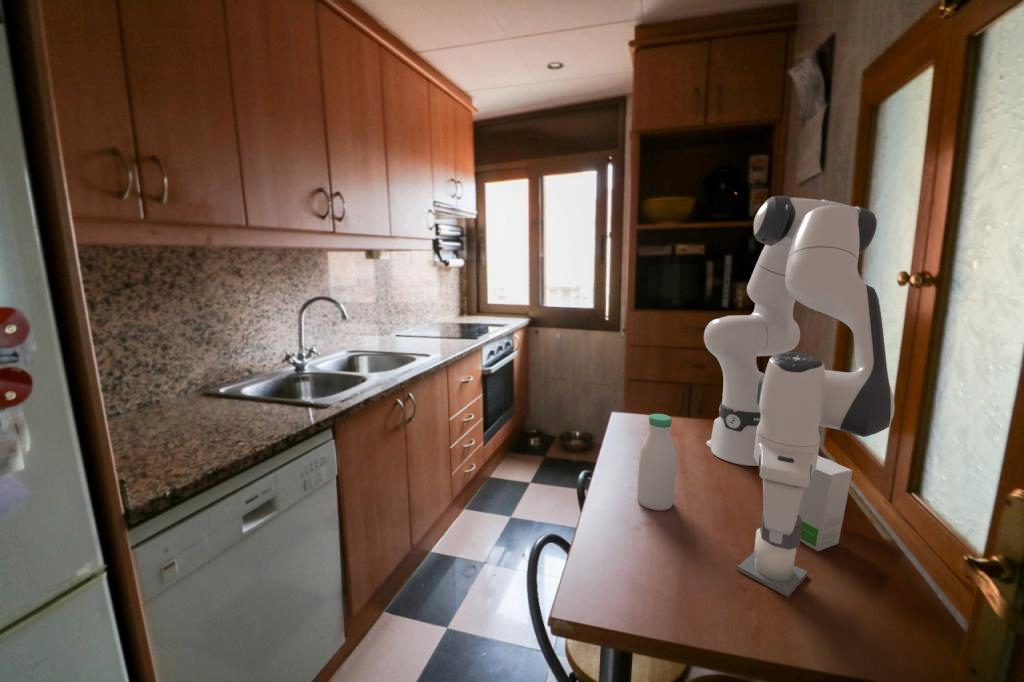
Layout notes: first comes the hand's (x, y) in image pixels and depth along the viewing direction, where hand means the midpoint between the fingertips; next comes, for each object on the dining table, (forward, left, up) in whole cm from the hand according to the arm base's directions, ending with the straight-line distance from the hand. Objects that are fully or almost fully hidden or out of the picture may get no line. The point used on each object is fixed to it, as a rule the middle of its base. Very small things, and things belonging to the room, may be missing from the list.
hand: (775, 529), depth 76 cm
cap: (0, +1, -1) cm, 2 cm away
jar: (0, 0, -8) cm, 8 cm away
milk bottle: (-4, -26, -8) cm, 28 cm away
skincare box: (-17, 0, -9) cm, 19 cm away
